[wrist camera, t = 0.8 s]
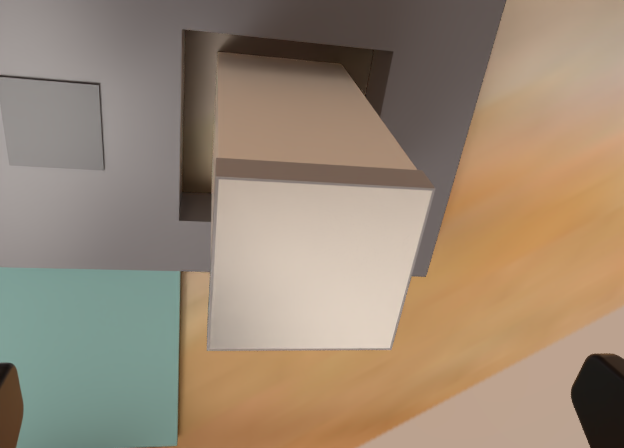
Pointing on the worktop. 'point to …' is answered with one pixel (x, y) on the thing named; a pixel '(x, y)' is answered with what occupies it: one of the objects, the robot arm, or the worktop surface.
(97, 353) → the teal mat
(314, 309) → the beige grey rectangular block
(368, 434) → the worktop surface
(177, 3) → the grey panel
